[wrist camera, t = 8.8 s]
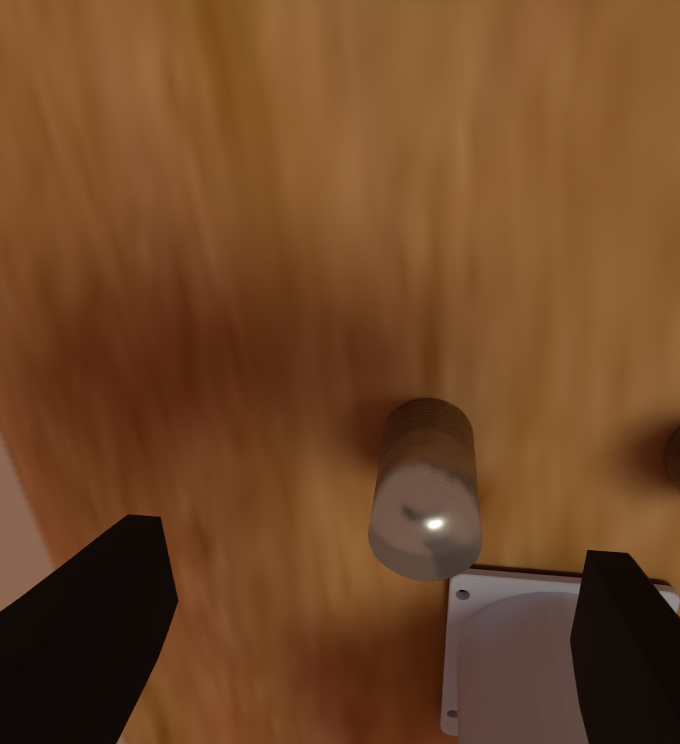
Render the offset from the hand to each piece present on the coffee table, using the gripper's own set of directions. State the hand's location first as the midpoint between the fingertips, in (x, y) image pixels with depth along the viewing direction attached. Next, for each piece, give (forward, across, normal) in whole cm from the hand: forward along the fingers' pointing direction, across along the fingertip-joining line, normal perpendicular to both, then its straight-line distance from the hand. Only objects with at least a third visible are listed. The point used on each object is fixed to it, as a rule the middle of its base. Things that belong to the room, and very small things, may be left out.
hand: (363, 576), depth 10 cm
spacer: (+10, -1, +4) cm, 11 cm away
